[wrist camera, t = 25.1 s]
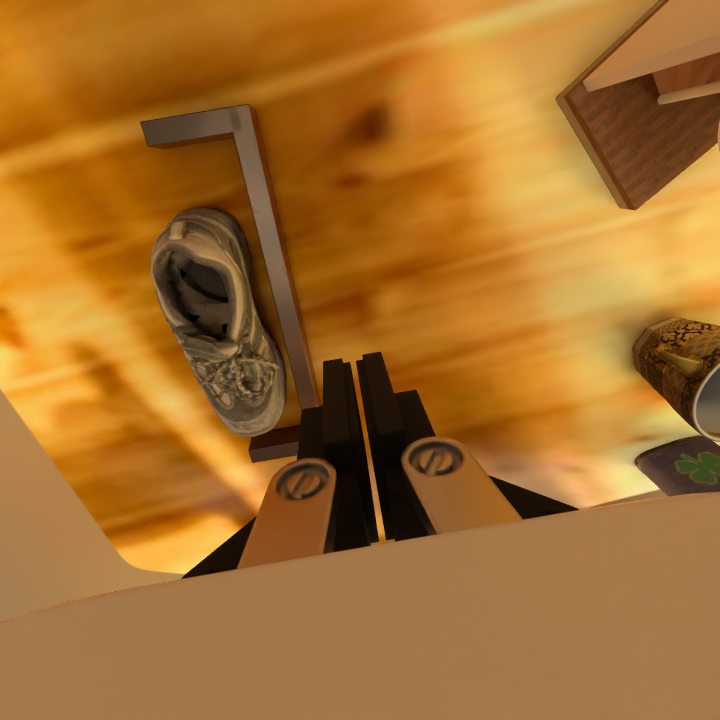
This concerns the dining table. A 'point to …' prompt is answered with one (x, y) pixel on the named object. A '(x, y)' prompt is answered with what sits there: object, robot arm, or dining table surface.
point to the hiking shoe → (219, 318)
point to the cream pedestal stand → (651, 99)
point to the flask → (683, 466)
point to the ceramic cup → (684, 370)
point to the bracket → (264, 208)
